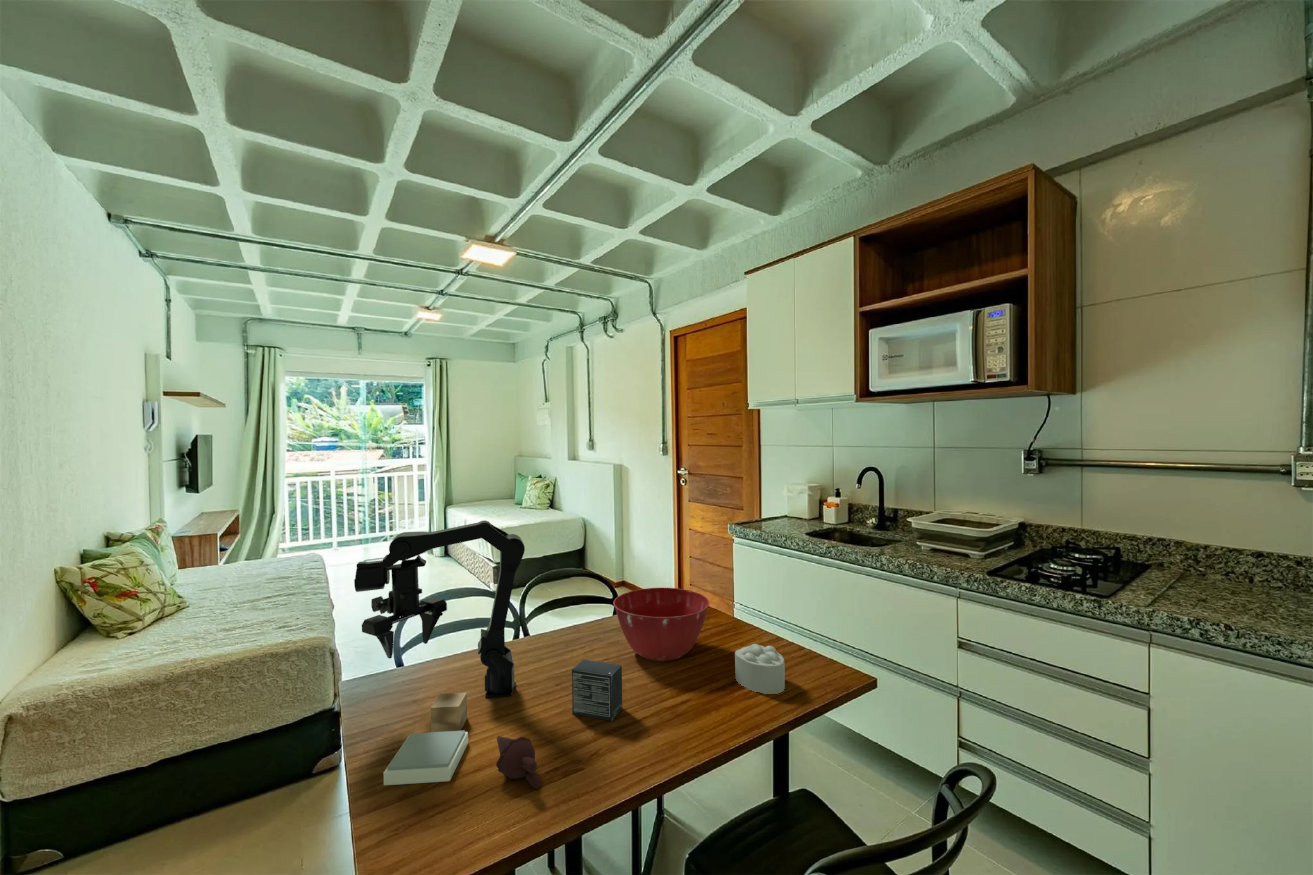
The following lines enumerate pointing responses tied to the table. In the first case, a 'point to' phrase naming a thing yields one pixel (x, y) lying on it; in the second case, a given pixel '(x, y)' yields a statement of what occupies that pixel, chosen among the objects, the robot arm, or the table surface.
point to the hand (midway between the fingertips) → (408, 650)
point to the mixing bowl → (661, 621)
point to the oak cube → (449, 712)
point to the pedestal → (427, 758)
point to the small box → (597, 689)
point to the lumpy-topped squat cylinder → (760, 669)
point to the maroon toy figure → (518, 759)
